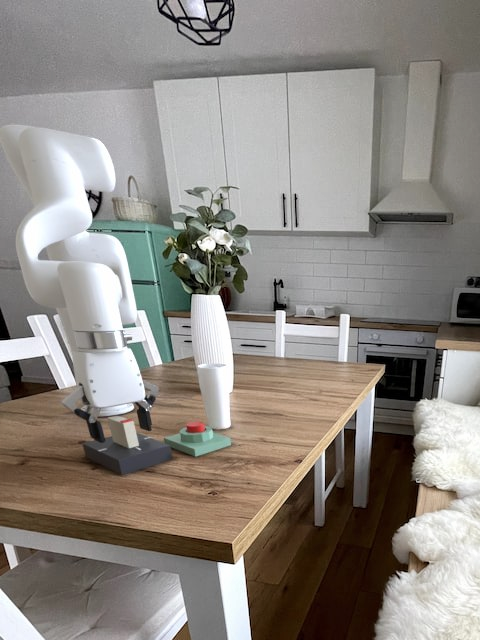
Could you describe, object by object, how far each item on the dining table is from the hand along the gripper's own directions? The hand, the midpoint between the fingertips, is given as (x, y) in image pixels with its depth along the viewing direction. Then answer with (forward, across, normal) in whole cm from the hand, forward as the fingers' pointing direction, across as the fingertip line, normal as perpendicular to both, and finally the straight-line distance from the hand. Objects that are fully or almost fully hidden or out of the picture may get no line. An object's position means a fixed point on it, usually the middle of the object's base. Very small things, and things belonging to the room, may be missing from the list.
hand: (123, 434), depth 77 cm
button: (+2, -13, +4) cm, 14 cm away
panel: (+5, 0, 0) cm, 5 cm away
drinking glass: (+5, -24, -3) cm, 25 cm away
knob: (+2, 0, 0) cm, 2 cm away
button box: (+5, -13, +4) cm, 14 cm away
